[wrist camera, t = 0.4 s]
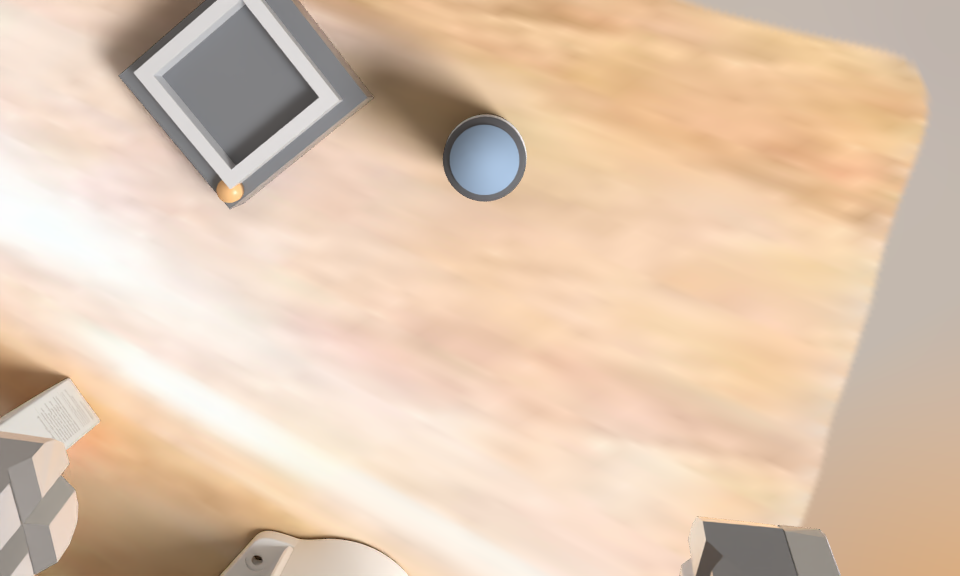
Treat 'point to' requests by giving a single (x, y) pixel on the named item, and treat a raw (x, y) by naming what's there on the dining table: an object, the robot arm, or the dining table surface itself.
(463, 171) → the lens
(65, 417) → the skincare box
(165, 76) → the dock
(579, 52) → the dining table surface
